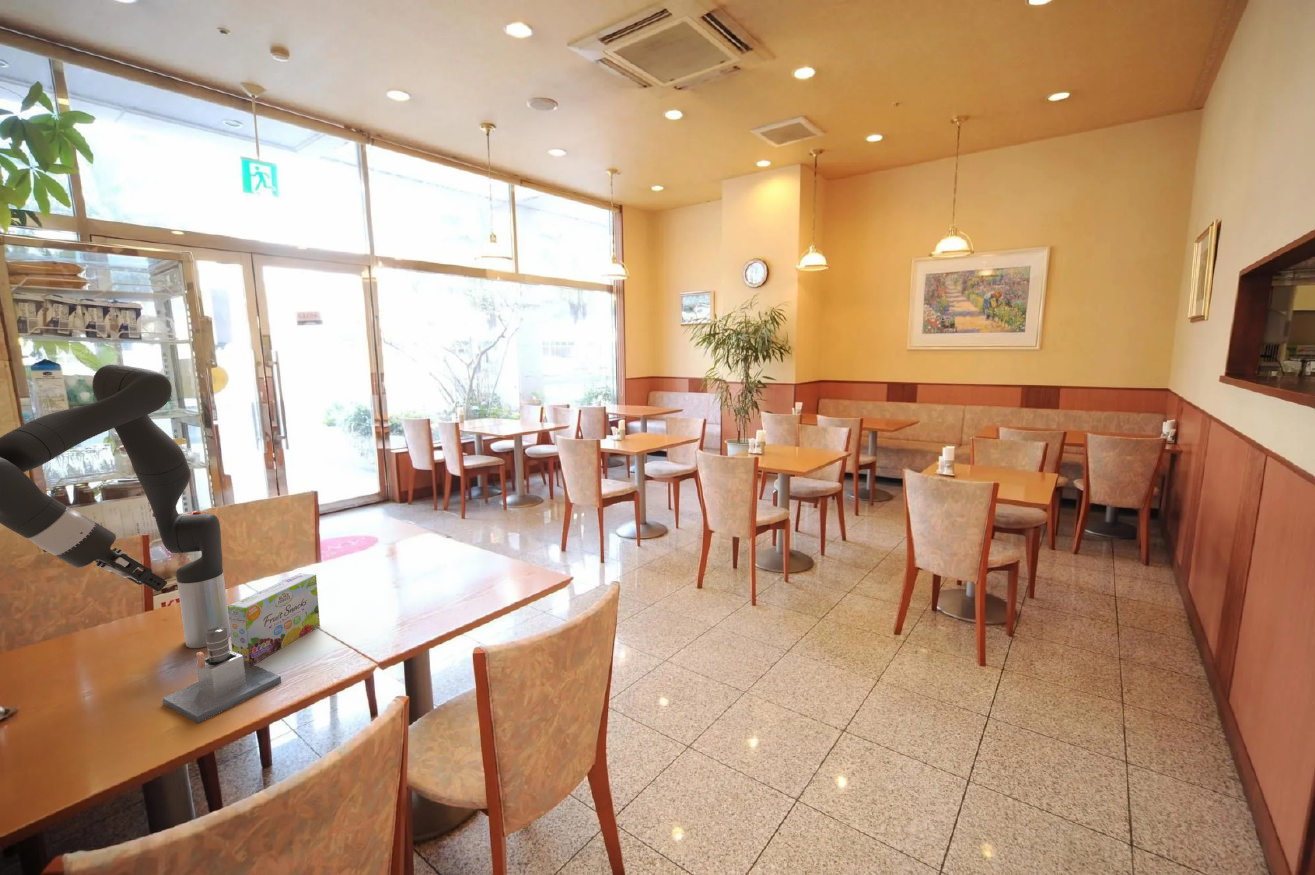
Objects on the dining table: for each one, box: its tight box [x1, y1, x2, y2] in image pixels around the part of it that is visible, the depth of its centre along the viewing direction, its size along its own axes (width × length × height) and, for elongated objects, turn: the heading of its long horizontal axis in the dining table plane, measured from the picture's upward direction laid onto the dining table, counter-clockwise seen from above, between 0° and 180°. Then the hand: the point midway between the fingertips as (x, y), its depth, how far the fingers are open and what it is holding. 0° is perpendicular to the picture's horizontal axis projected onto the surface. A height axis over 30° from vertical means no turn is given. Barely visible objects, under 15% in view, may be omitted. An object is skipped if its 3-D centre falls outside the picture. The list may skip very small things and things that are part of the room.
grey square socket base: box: [161, 649, 282, 724], centre depth 122 cm, size 14×16×11 cm
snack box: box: [227, 573, 321, 665], centre depth 143 cm, size 21×6×15 cm, turn 168°
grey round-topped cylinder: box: [206, 627, 231, 666], centre depth 122 cm, size 4×4×12 cm
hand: (153, 583), depth 113 cm, fingers open, 8 cm apart
